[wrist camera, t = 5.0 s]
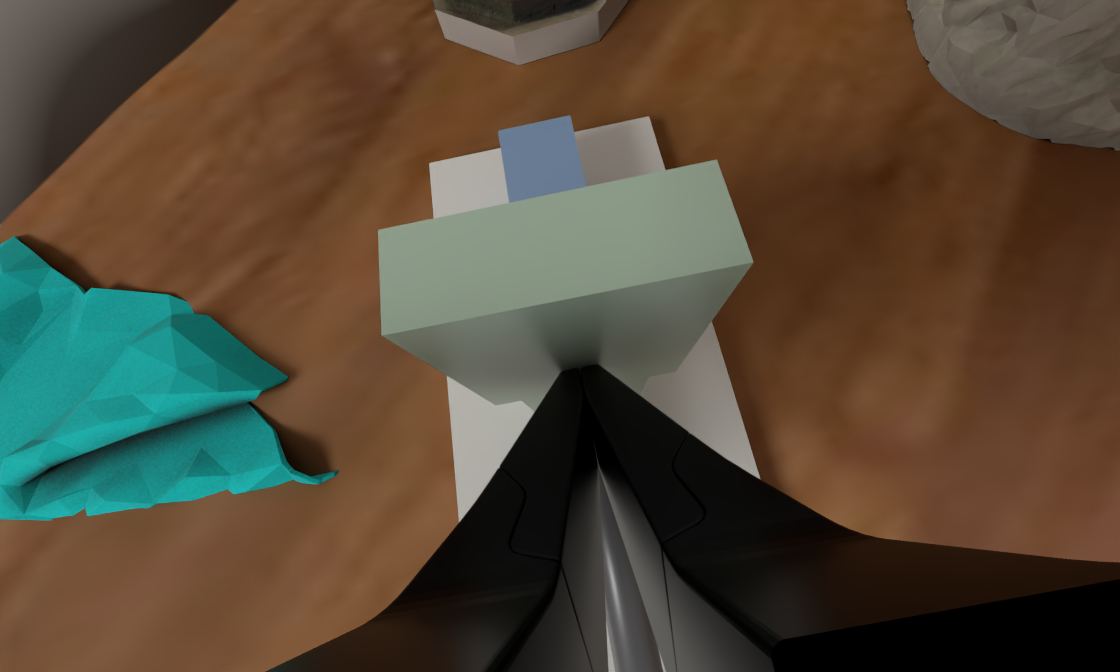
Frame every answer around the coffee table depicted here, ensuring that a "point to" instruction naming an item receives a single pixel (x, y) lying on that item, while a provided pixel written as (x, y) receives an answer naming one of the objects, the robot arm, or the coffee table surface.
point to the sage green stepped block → (565, 282)
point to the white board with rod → (685, 395)
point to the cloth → (123, 399)
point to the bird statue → (526, 25)
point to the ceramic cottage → (1029, 63)
